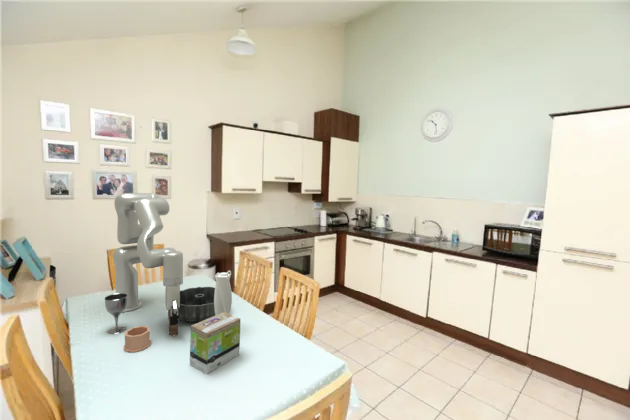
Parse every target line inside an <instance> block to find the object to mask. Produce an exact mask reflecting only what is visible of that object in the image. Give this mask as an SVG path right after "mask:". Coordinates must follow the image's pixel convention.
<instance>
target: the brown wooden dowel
mask: <svg viewBox="0 0 630 420" xmlns="http://www.w3.org/2000/svg"><path fill="white" fill-rule="evenodd" d="M172 304H173V302H172ZM171 308H173V307H171ZM172 311H173V310H172ZM170 316H171V312H170V310H169V316H168V337H169V336H170V337H173V336H177V335H178V333H179V332H178V331H179V324H177V325H170Z"/></svg>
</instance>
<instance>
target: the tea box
mask: <svg viewBox="0 0 630 420" xmlns="http://www.w3.org/2000/svg"><path fill="white" fill-rule="evenodd" d="M189 341H190V342H189V344H190V345H189V365H190V366H192V367H193V368H195V369H197V370H199V371H200V372H203V373H204V374H206V375H207V374H209V373H211V372H212V371H214V370H215V369H217V368H219V367H221V366H222V365H224V364H225V363H227V362H229V361H230V360H233V359H234V358H236V357H238V356H239V355H240V345H241V344H240V343H241V342H240V341H241V318H239V317H237V316H235V315H232V314H231V313H230V314H227V313H225V312H223V313H220V314H218V315H215V316H213V317H211V318H208V319H206V320H202V321H201V322H199V321H198V322H197V323H194V324H191V325H190V339H189Z"/></svg>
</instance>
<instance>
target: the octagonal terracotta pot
mask: <svg viewBox="0 0 630 420" xmlns="http://www.w3.org/2000/svg"><path fill="white" fill-rule="evenodd" d="M124 332H125V333H124V345H123V350H124V352H126V353H137V352H141V351H144V350H146V349H148V348H149V347H151V345H152V339H150V338H151V336H150V333H151V331H150V326H146V325H140V326H134V327H131V328H129V329H126V330H125V331H124Z"/></svg>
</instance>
